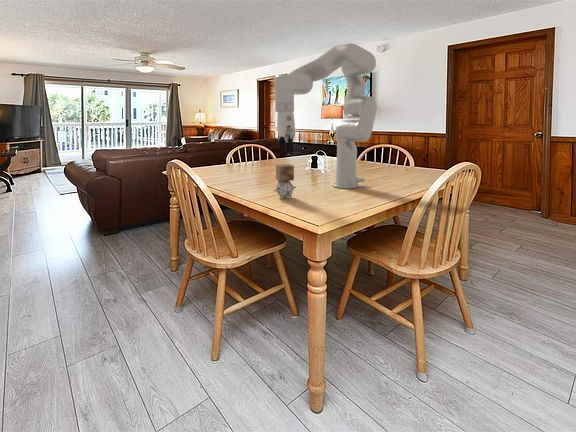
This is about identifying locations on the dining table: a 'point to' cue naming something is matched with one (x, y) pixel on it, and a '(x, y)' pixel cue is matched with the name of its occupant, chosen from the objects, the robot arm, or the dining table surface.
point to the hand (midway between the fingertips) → (285, 151)
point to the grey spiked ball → (284, 189)
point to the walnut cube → (285, 172)
